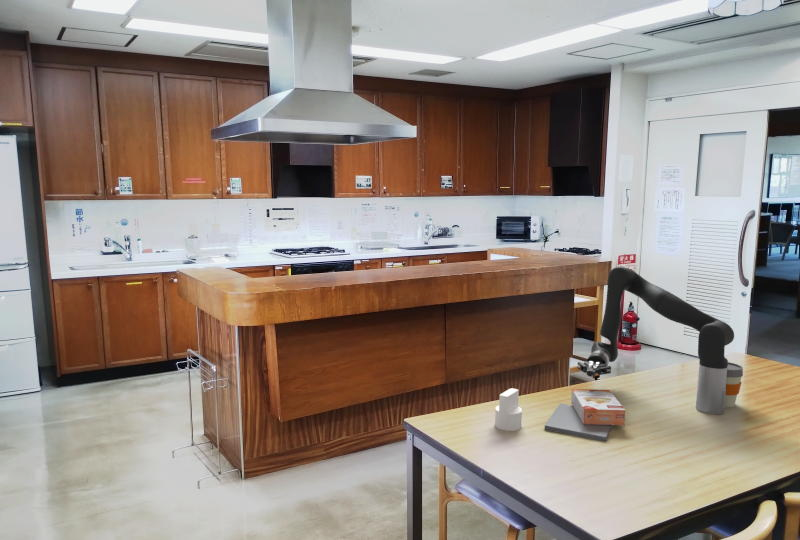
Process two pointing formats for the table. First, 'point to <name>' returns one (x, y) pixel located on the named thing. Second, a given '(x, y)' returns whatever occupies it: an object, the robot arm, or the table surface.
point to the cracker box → (597, 407)
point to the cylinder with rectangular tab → (508, 411)
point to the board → (575, 424)
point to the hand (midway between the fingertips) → (590, 373)
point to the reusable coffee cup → (733, 383)
